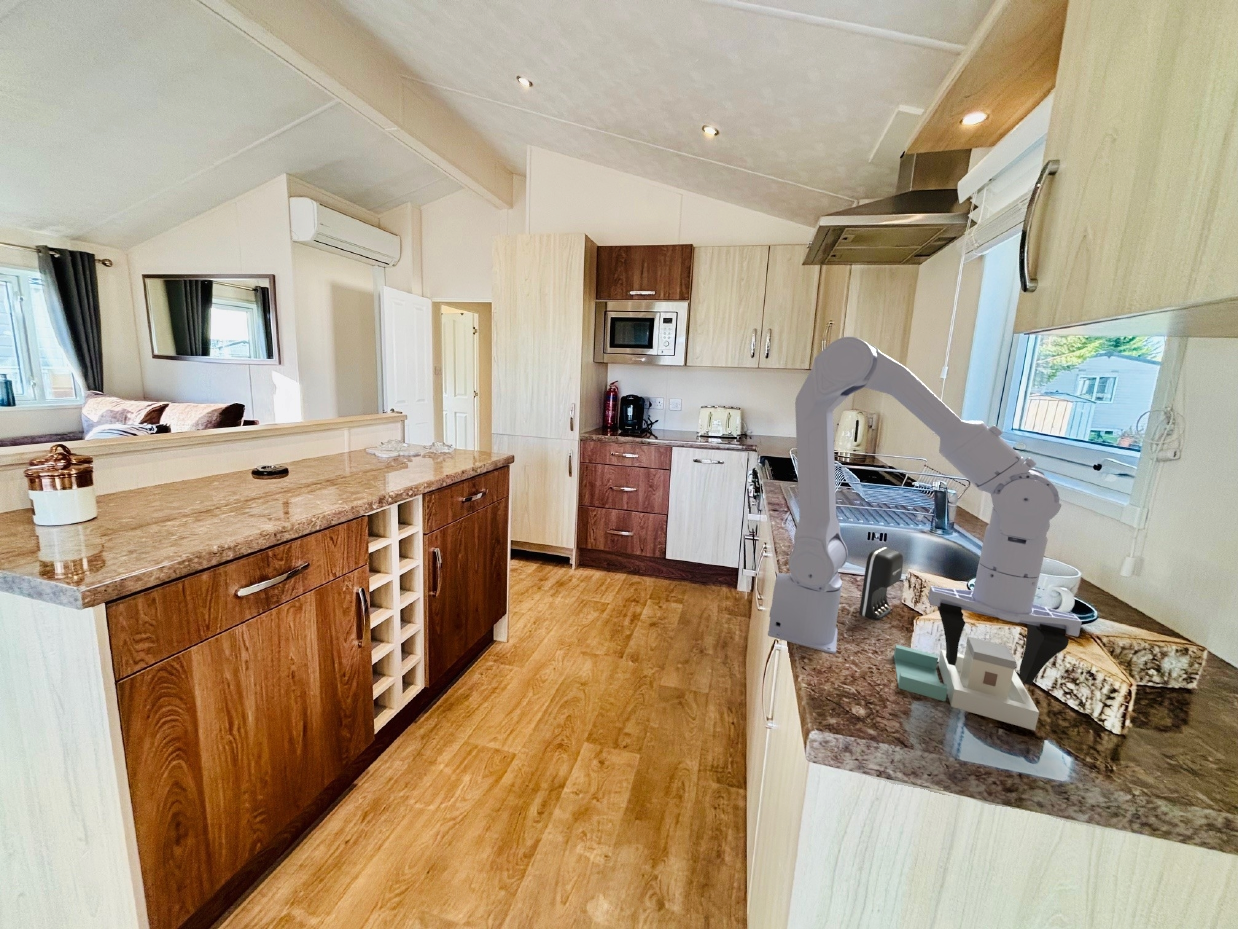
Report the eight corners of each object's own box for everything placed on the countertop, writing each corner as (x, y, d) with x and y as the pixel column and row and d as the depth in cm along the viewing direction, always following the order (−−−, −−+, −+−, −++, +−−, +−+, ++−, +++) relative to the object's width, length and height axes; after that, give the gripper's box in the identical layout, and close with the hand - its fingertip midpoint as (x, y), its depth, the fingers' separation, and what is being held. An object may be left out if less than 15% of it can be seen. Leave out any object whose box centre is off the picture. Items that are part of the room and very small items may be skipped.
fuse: (965, 695, 59) (974, 651, 58) (959, 677, 63) (967, 636, 62) (1006, 706, 57) (1016, 661, 56) (997, 688, 61) (1006, 645, 60)
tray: (950, 708, 57) (954, 689, 57) (937, 666, 66) (941, 649, 66) (1034, 732, 54) (1039, 712, 54) (1009, 684, 63) (1012, 667, 62)
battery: (881, 625, 77) (892, 559, 75) (857, 616, 80) (867, 551, 78) (897, 613, 82) (908, 550, 80) (874, 605, 85) (883, 544, 83)
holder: (944, 703, 58) (947, 688, 58) (898, 690, 60) (900, 675, 60) (934, 667, 66) (936, 654, 66) (893, 657, 68) (895, 644, 68)
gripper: (942, 566, 57) (923, 668, 59) (1103, 595, 51) (1075, 709, 53) (933, 548, 63) (916, 642, 65) (1076, 573, 57) (1051, 675, 59)
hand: (986, 670), depth 60 cm, fingers open, 7 cm apart
